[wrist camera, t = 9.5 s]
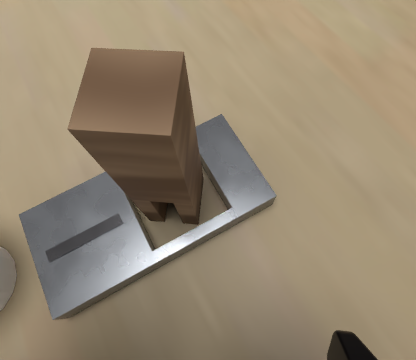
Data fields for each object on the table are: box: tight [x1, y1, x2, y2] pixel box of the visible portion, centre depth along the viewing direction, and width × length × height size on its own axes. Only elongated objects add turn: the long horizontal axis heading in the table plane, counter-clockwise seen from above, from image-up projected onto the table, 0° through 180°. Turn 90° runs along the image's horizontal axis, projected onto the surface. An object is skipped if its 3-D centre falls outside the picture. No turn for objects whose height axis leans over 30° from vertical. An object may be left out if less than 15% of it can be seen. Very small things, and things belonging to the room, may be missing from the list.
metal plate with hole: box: [19, 114, 276, 320], centre depth 22 cm, size 8×16×2 cm, turn 119°
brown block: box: [68, 48, 203, 224], centre depth 17 cm, size 4×4×13 cm
